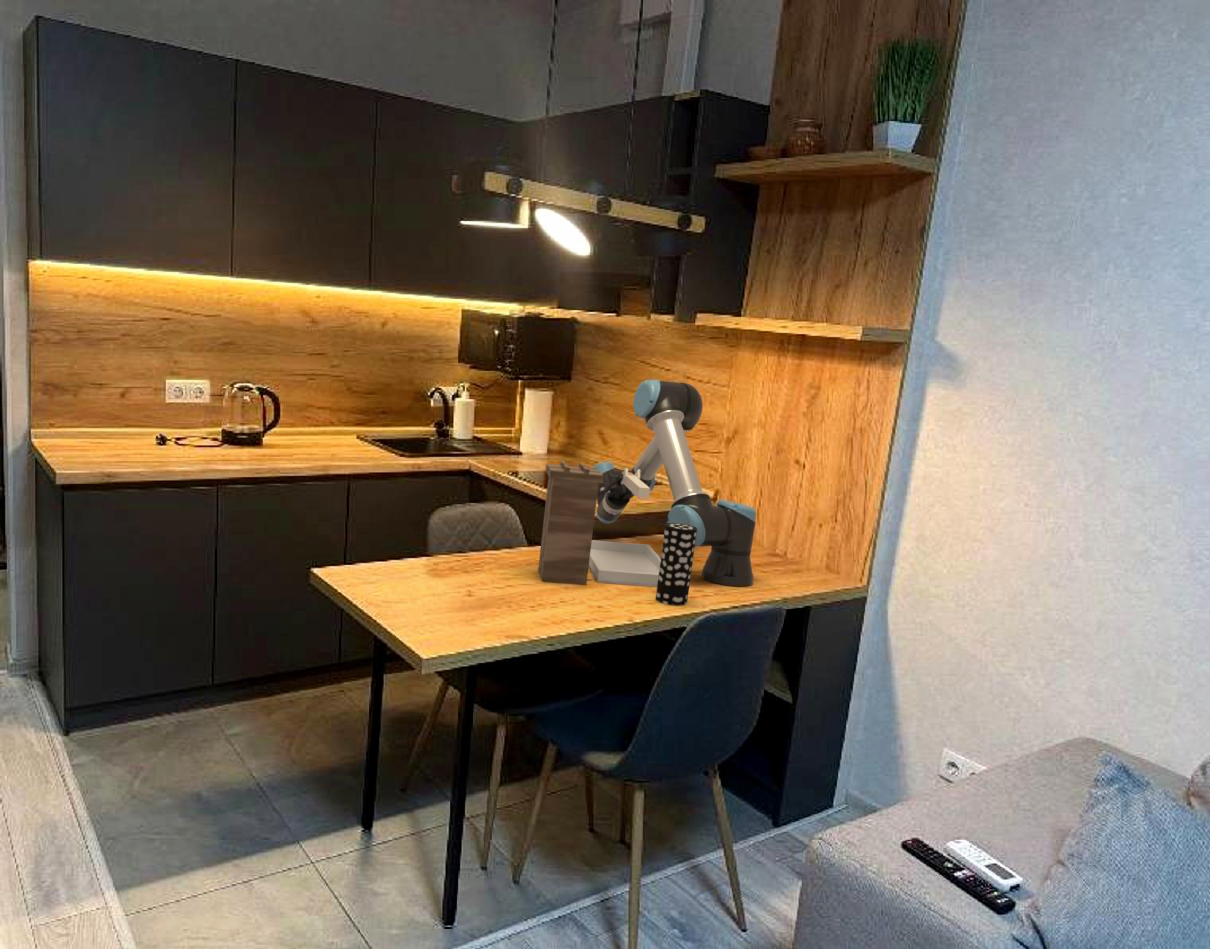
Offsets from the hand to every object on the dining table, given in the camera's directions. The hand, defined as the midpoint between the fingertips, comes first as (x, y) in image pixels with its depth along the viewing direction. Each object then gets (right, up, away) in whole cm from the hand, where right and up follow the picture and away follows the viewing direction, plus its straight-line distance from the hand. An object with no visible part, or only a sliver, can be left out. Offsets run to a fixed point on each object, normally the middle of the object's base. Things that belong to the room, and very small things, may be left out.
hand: (632, 473), depth 273 cm
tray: (-3, -28, -1) cm, 28 cm away
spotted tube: (+9, -34, -31) cm, 47 cm away
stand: (-20, -29, -20) cm, 40 cm away
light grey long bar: (0, -5, -4) cm, 6 cm away
